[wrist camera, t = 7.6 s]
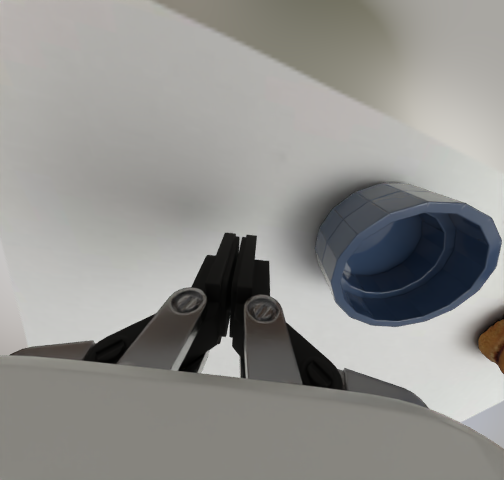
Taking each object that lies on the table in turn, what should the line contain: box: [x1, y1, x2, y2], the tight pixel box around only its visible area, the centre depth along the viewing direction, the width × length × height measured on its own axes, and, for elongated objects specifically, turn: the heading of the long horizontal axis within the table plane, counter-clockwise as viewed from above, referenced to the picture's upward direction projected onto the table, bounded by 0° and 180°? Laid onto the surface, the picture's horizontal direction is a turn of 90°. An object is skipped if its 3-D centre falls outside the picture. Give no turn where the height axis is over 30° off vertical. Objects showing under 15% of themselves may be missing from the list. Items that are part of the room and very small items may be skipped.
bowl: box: [315, 183, 502, 327], centre depth 14 cm, size 9×9×5 cm
